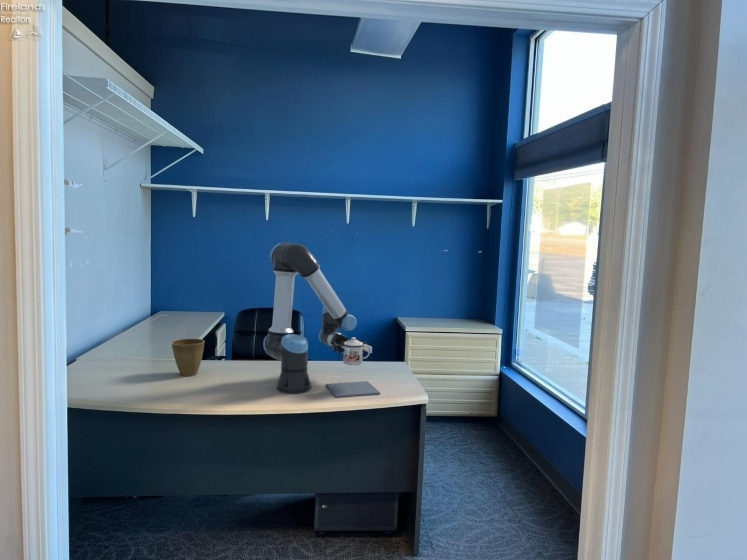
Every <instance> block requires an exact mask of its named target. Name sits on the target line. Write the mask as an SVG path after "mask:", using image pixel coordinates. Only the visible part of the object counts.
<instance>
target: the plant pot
mask: <svg viewBox="0 0 747 560" xmlns="http://www.w3.org/2000/svg"><path fill="white" fill-rule="evenodd" d="M171 346H172V347H171V349H172V352H173V356H174V360H175V363H176V366H177V369H178V372H179V373H180V376H182V375H183V377H192V375H193V376H195V375H197V374H198V371H199V369H200V366H201V362H202V360H203V353H204V348H205V340H204V339H200V338H182V339H176V340H173V341H172V342H171Z"/></svg>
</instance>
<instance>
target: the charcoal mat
mask: <svg viewBox="0 0 747 560" xmlns="http://www.w3.org/2000/svg"><path fill="white" fill-rule="evenodd" d="M325 386H326V387H327V389H328V390H329V391H330V392H331V393H332V394H333V396H334V397H335V398H338V399H339V398H349V397H364V396H365V397H366V396H376V395H381V392H380V391H379V390H378V389H377V388H376V387H375V386H374V385H372V384H371V383H370V382H369V381H367V380H365V381H364V380H363V381H348V382H335V383H333V382H332V383H326V384H325Z"/></svg>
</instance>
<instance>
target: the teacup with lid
mask: <svg viewBox="0 0 747 560" xmlns="http://www.w3.org/2000/svg"><path fill="white" fill-rule="evenodd" d="M348 340H349V341H347V342H344V344H343V345H344V347H346V348H348V349H350V352H349V355H346V354H344V353H343V357H342V358H343V361H342V362H343V364H345V365H347V366H360V365H362V364H363V360H365V359H367V358H368V357H369V356H370V354H371V353H370V351H369V349H368V348H363V343H362V342H363V341H360V340H358V339H356V337H355V336H354V337H351V339H348ZM359 341H360V342H359ZM363 349H365V350H367V351H368V352H367V351H366V352H367V355H366V356H364V355H363V353H364V352H363V351H364V350H363Z"/></svg>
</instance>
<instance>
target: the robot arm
mask: <svg viewBox="0 0 747 560" xmlns="http://www.w3.org/2000/svg"><path fill="white" fill-rule="evenodd" d="M269 259H270V262H271V263H272V265H273V267H272V271H273V273H274V274H275V283H274V284H275V286H274V297H273V298H274V300H273V311H272V321H271V322H272V324H271V327H269V328H268V333H267V335H266V336H265V337H264V339H263V344H262V345H263V349H264V351H265V354H267V355H268V356H269V357H270V358H273V359H276V360H278V361H280V363H281V364H280V374H279V377H278V380H277V382H276V390H277V389H278V390H279V391H278V390H277V391H278V392H281V391H282V392H281V393H284V392H287V393H286V394H301V393H305V392H308V391H310V390H311V389H312V383H311V379H310V376H309V372H308V364H309V363H308V361H309V359H308V358H309V357H308V356H309V355H308V354H309V342H308V339H307V338H306V337H305V336H303V335H299V334H295V332H294V329H293V328H292V316H293V315H292V314H293V301H294V289H295V277H296V276H297V275H298V274H299V275H300V276H301V277H302V279H305V280H306V281H307V283H308V284H309V286H310V287H311V288H312V290H313V292H314V293H315V294H316V296H317V297H318V299H319V300H320V302H321V303H322V305H323V307H322V314H321V315H322V319H321V320H322V323H321V324H322V326H321V329H320V331H319V333H318V339H319V341H320V342H321V343H323V344H324V345H327V346H328V347H329V348H331V349H332V350H333V352H334V353H336V352H337V353H338V354H343V355H344V354H346V355H349V352H350V349H348V348H346V347H344V345H343V344H344V342H347V341H349V340H350V339H348V337H347V336H346V335H344V334H342V333H340V332H338V329H340V330H343V331H348V332H349V331H353V330H354V329H355V328H356V327H357V323H358V322H357V318H356V317H355V316H354V315H352V314H350V313H349V311H347V309H346V308H345V306H344V304H343V303H342V301H341V300H340V298H339V297H338V295H337V293H336V292H335V291H334V289H333V287H332V286H331V284H330V283H329V282H328V280H327V278H326V277H325V275H324V274H323V272H322V270H321V269H320V267H321V265H320V264H319V262H318V260H317V259H316V258H315V256H314V254H312V252H311V251H310V250H309V249H308V248H307V247H306V246H304V245H303V244H300V243H291V242H280V243H277V244H275V246H273V247H272V249H271V250H270V253H269ZM358 341H359V342H362V343H363V348H368V349H369V351H370V353H369V354H372V353H373V347H372V346H370V343H369V342H367V341H366V342H364V341H360V340H358ZM363 351H365V352H367V353H368V351H367V350H365V349H363Z"/></svg>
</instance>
